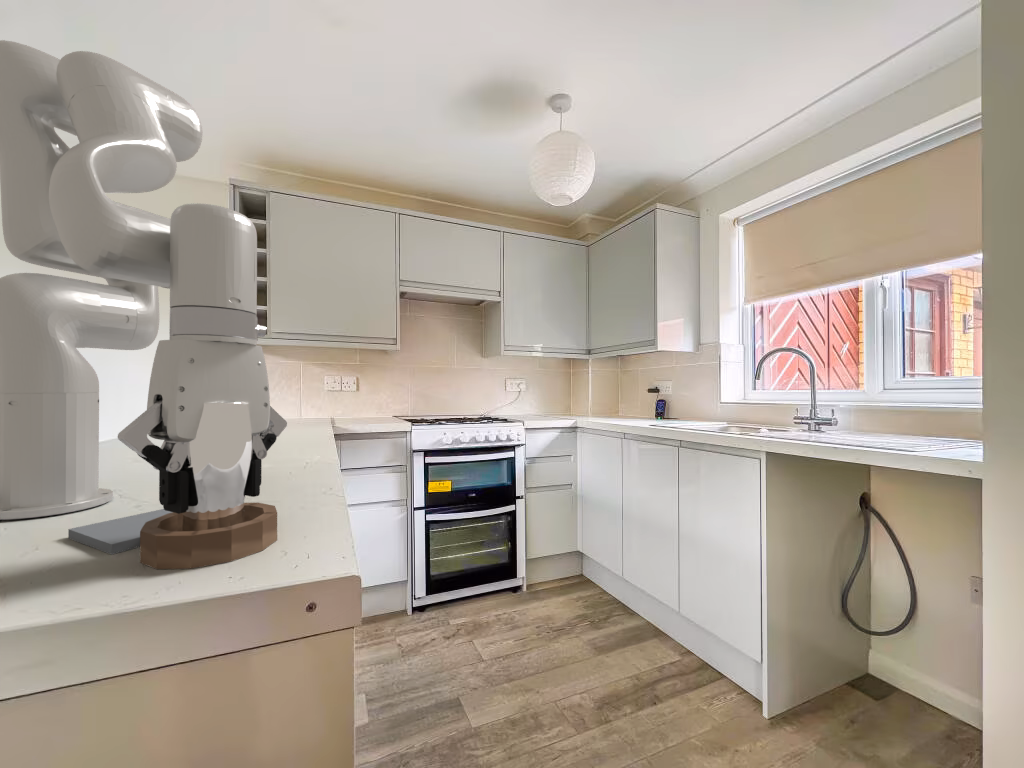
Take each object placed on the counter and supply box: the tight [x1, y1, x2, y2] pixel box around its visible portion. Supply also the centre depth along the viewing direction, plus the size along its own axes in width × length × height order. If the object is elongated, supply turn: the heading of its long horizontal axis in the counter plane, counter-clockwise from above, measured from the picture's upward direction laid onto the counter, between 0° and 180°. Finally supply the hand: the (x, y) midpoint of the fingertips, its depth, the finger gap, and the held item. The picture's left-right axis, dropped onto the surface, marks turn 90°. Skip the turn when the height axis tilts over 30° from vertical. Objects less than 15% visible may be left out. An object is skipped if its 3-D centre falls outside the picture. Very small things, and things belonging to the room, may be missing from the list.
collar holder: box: [139, 502, 278, 570], centre depth 46 cm, size 11×11×3 cm
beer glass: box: [173, 402, 253, 531], centre depth 46 cm, size 7×7×15 cm
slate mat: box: [67, 508, 173, 555], centre depth 50 cm, size 10×9×1 cm
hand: (214, 501), depth 46 cm, fingers closed on beer glass, 6 cm apart
